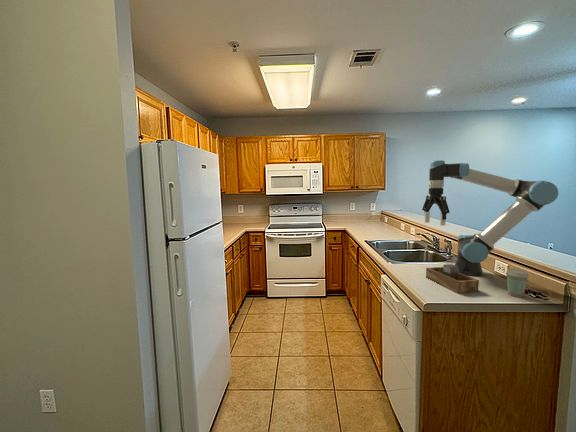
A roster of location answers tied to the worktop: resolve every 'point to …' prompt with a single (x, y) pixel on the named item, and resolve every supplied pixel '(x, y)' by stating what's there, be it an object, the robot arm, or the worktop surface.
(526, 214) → the robot arm
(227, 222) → the worktop surface
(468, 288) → the wooden box
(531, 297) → the worktop surface
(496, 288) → the worktop surface
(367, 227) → the worktop surface
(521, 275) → the coffee cup
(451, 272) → the dark grey block
